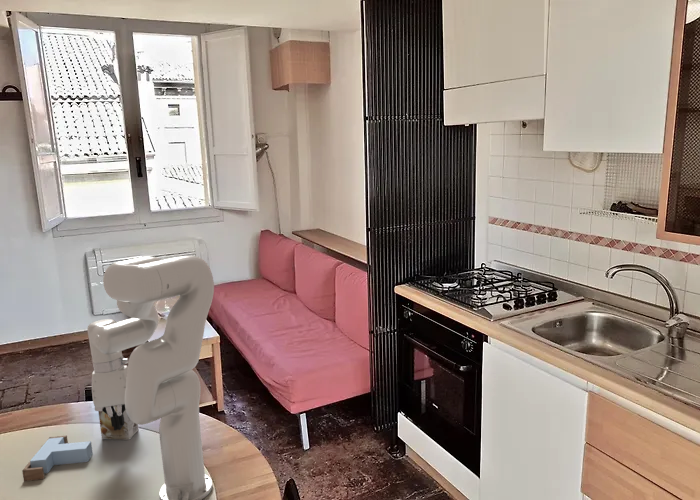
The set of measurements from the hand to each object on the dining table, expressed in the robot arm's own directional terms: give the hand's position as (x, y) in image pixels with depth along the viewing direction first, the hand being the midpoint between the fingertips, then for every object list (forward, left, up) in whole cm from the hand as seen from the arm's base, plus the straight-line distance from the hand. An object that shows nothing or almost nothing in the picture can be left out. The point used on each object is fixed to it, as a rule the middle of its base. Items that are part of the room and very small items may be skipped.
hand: (118, 428), depth 154 cm
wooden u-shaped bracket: (+1, +20, -8) cm, 22 cm away
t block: (+1, +15, -9) cm, 18 cm away
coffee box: (+13, +4, -9) cm, 16 cm away
